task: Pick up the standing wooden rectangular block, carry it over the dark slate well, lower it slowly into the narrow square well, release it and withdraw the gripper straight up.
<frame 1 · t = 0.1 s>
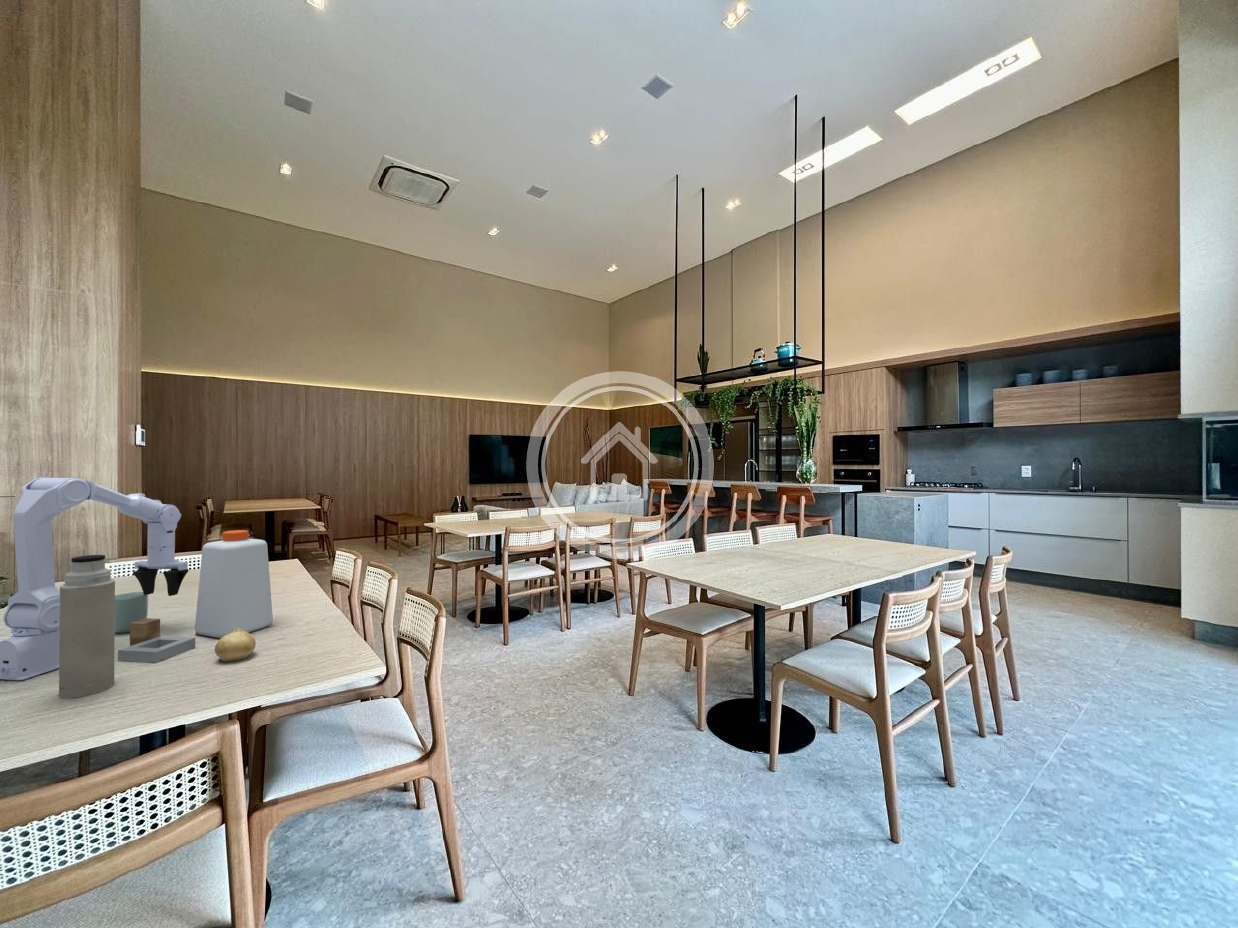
hand: (160, 594, 142), 10 cm above the table, fingers open, 7 cm apart
plastic bottle: (235, 629, 143), on the table
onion: (235, 659, 122), on the table
wooden rectangular block: (145, 648, 128), on the table
thermos bottle: (87, 690, 105), on the table
well: (157, 653, 125), on the table
cup: (128, 631, 141), on the table
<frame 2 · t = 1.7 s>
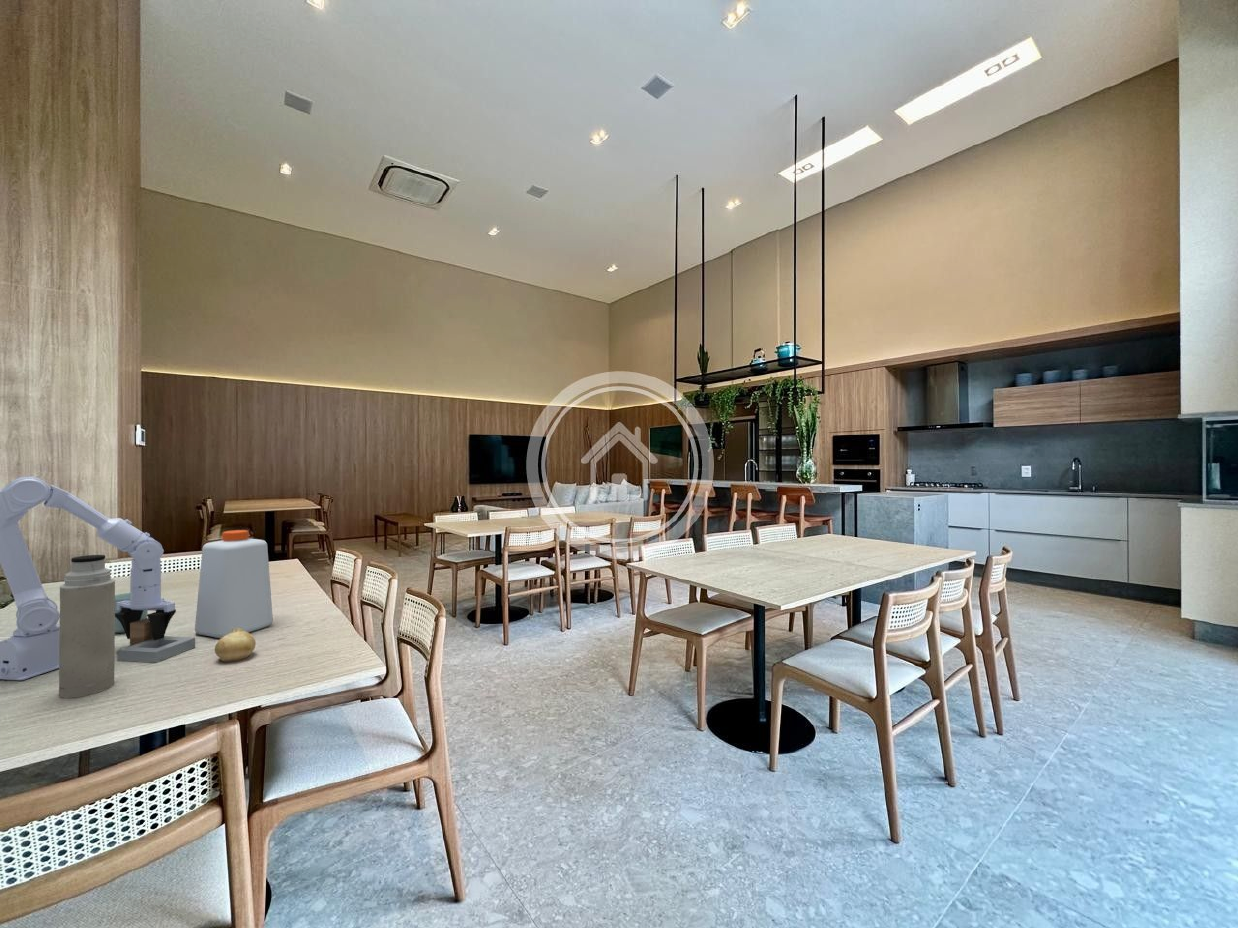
hand: (145, 638, 128), 2 cm above the table, fingers open, 7 cm apart
nothing on the table moved.
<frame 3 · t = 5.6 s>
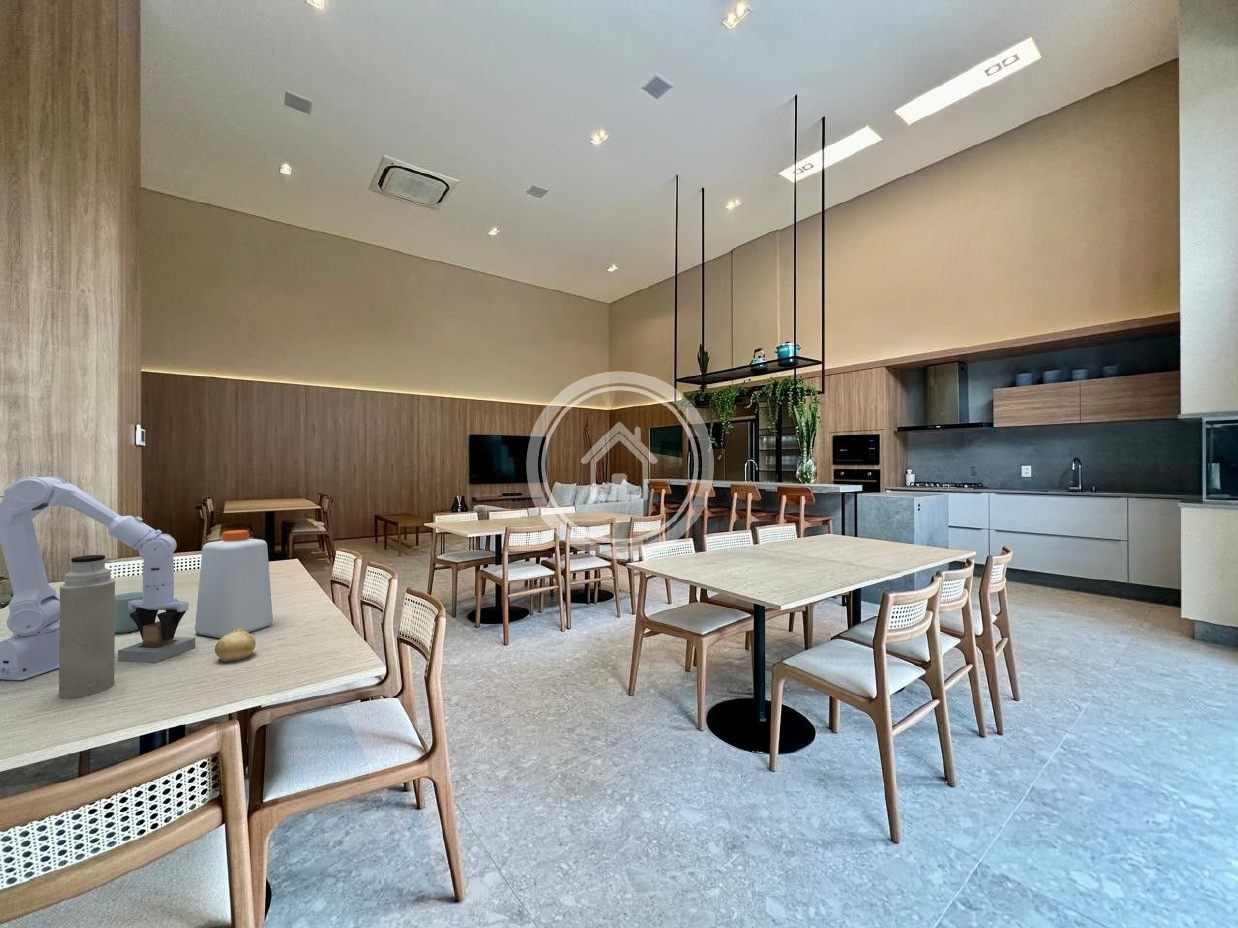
hand: (158, 638, 125), 4 cm above the table, fingers open, 5 cm apart
wooden rectangular block: (158, 651, 125), resting on well
everything else where it was.
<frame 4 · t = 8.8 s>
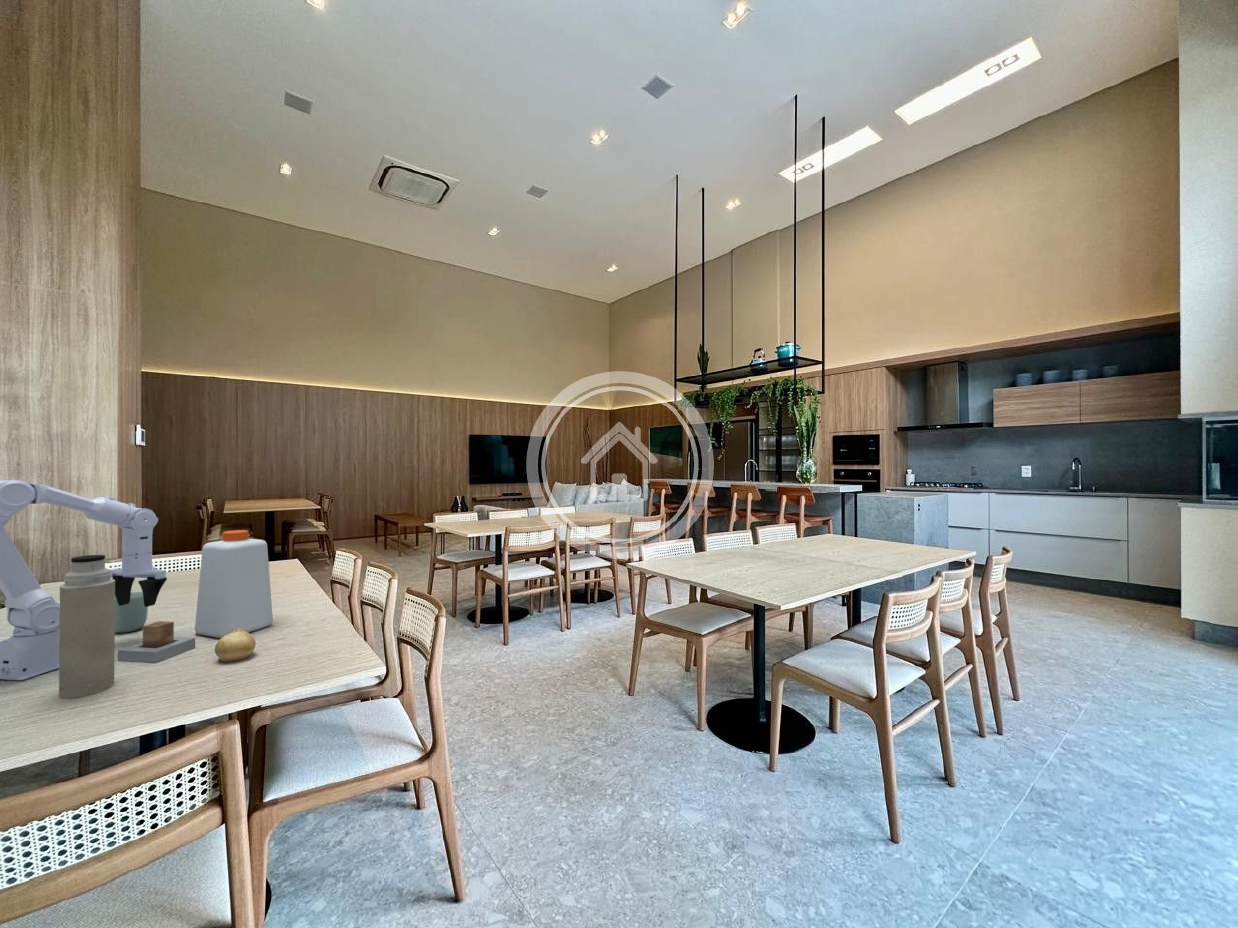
hand: (136, 605, 132), 10 cm above the table, fingers open, 7 cm apart
nothing on the table moved.
at the end: wooden rectangular block 0.1 cm off-centre on the well, point 0.4 cm above the well's base; wooden rectangular block tilted 0°; the gripper is holding nothing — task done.
